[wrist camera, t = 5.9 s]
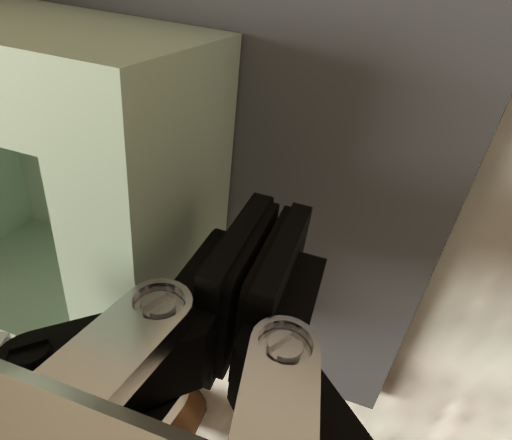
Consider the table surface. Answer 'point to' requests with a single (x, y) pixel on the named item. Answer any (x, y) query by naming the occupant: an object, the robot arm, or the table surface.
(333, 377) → the board
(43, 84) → the sage block
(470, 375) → the table surface
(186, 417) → the walnut dowel
